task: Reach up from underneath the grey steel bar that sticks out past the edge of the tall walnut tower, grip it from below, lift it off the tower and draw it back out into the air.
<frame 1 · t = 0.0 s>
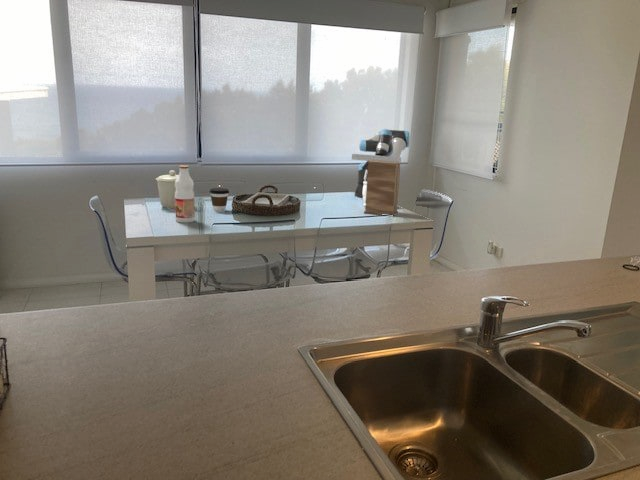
hand: (375, 180, 332), 15 cm above the table, tool tilted 35°, fingers open, 13 cm apart
canister: (173, 207, 304), on the table
jar: (369, 205, 333), on the table
fruit juice: (185, 221, 270), on the table
coffee cup: (219, 211, 299), on the table
steel bar: (376, 160, 305), point 30 cm above the table, touching walnut tower
walnut tower: (381, 213, 311), on the table
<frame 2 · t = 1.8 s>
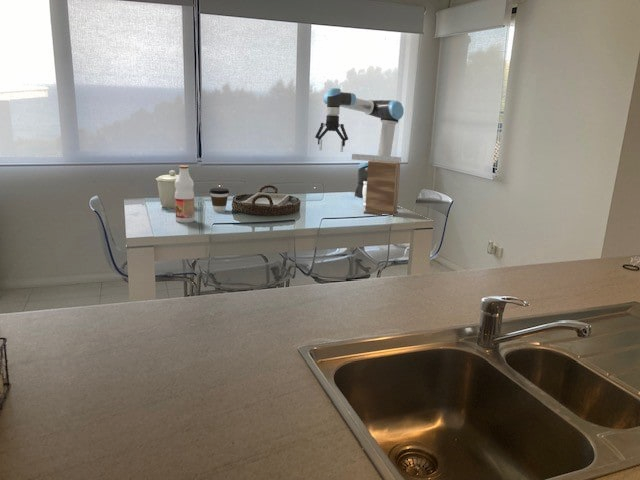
hand: (330, 151, 322), 33 cm above the table, tool pointing down, fingers open, 13 cm apart
nothing on the table moved.
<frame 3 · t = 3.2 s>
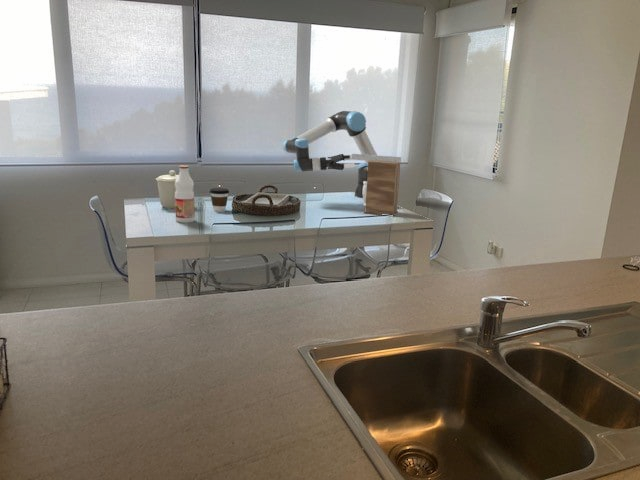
hand: (355, 161, 318), 28 cm above the table, tool horizontal, fingers open, 13 cm apart
steel bar: (376, 160, 305), point 30 cm above the table, touching gripper
everything else where it was.
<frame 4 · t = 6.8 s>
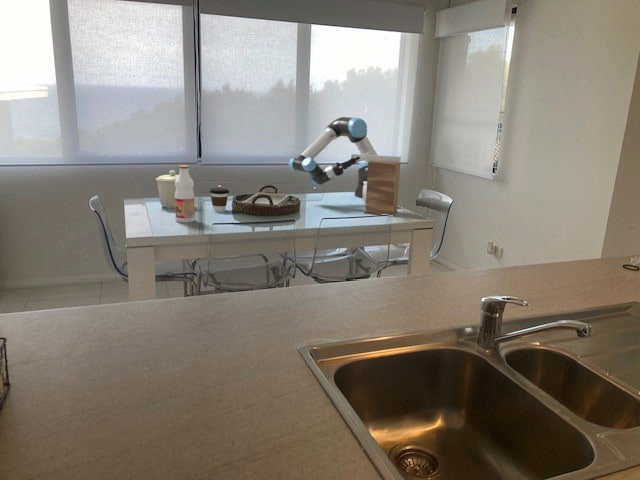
hand: (367, 153, 306), 34 cm above the table, tool pointing upward, fingers open, 10 cm apart
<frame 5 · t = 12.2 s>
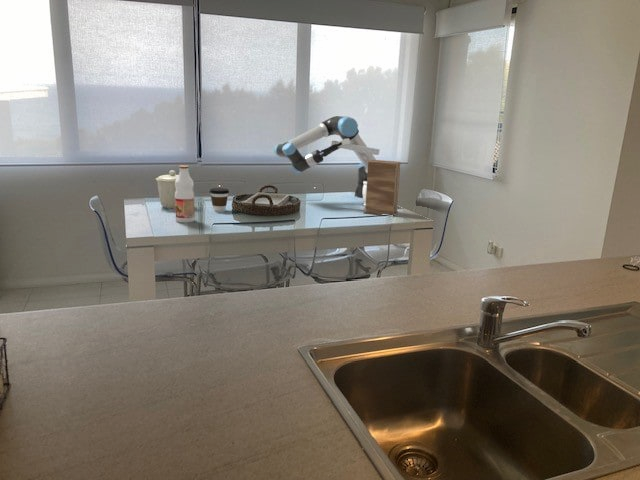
hand: (348, 140, 308), 41 cm above the table, tool pointing upward, fingers closed on steel bar, 4 cm apart
steel bar: (354, 150, 308), point 35 cm above the table, tilted 7°, touching gripper
everything else where it was.
at the end: the gripper is holding steel bar; steel bar point 35.2 cm above the table; steel bar moved 14.1 cm from its start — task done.
